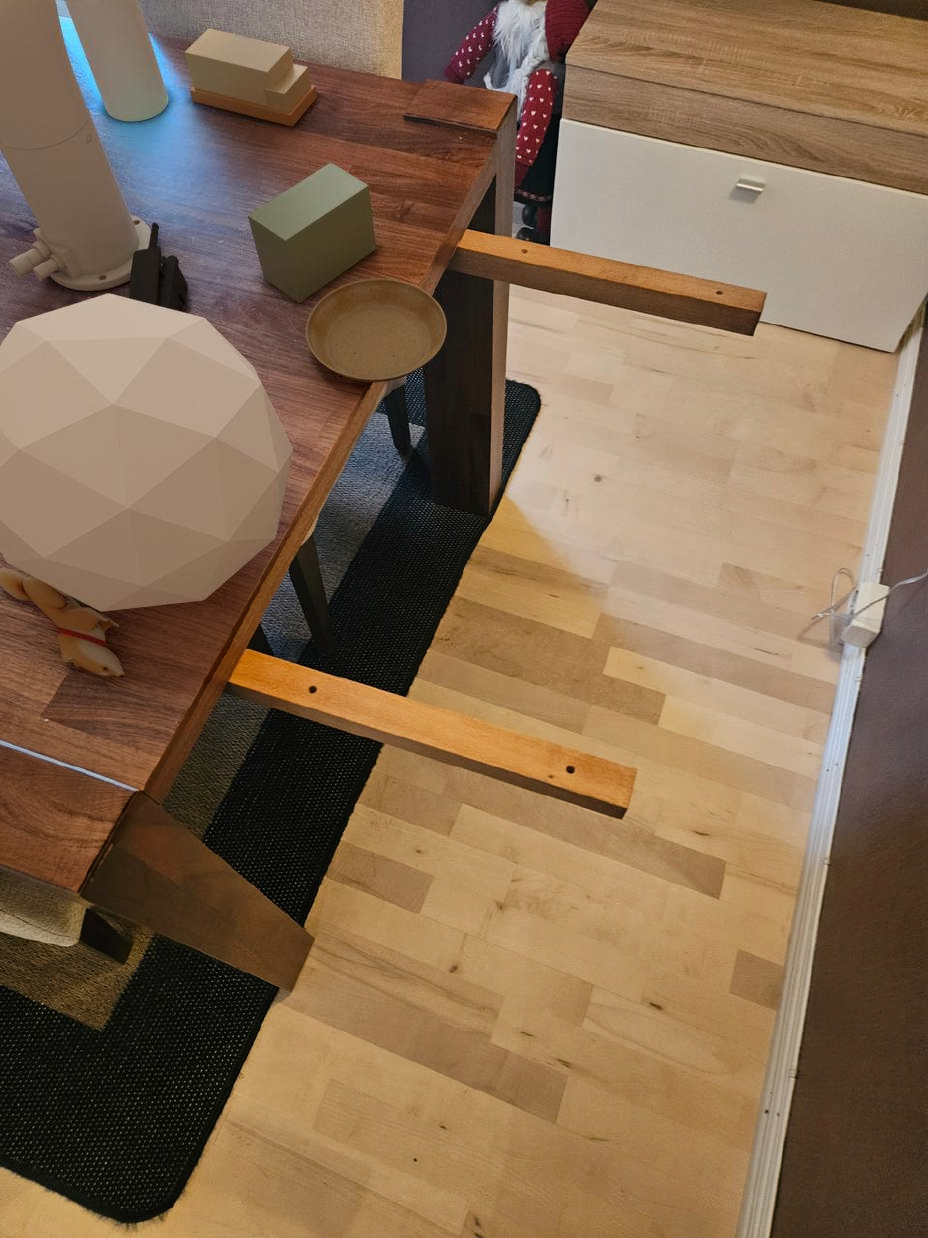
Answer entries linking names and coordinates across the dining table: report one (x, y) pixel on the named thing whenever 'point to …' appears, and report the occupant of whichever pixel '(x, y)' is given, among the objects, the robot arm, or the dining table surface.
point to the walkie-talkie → (157, 277)
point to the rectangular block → (314, 231)
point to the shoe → (249, 77)
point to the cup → (120, 57)
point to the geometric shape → (134, 454)
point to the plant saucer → (376, 329)
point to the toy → (68, 623)
